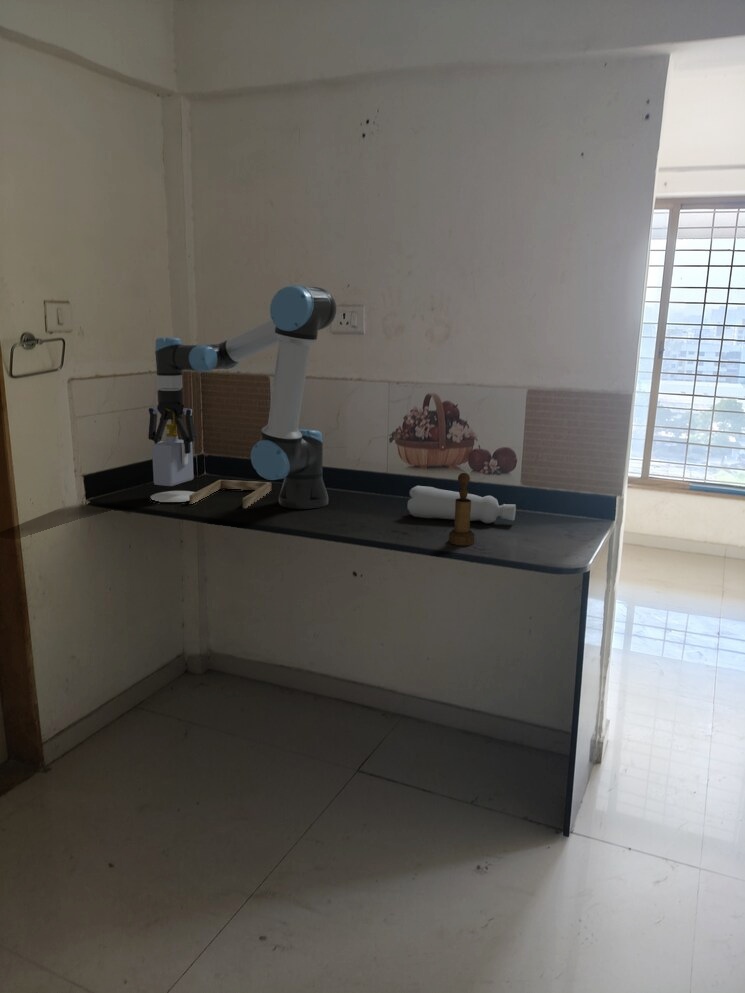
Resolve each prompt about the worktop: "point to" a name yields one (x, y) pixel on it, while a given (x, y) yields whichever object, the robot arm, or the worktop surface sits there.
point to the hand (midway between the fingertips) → (173, 463)
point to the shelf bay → (259, 488)
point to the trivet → (172, 496)
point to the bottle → (443, 505)
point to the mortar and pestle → (462, 516)
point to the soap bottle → (171, 460)
